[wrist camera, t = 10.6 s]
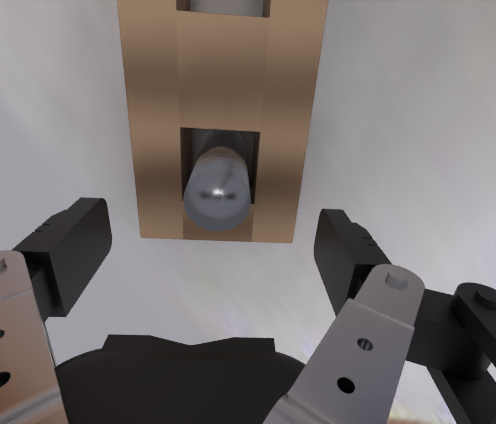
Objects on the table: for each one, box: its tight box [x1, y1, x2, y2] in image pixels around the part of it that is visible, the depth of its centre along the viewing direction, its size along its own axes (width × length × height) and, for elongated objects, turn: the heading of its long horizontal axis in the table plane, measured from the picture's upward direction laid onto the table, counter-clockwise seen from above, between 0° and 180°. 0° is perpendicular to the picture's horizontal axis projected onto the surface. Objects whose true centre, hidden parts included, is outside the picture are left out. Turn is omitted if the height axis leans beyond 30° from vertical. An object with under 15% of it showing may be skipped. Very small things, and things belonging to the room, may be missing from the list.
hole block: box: [117, 0, 328, 243], centre depth 18 cm, size 20×10×5 cm, turn 176°
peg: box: [183, 129, 251, 231], centre depth 18 cm, size 3×3×10 cm
